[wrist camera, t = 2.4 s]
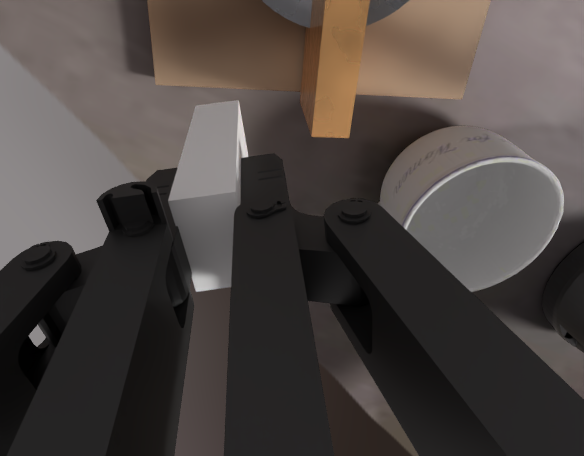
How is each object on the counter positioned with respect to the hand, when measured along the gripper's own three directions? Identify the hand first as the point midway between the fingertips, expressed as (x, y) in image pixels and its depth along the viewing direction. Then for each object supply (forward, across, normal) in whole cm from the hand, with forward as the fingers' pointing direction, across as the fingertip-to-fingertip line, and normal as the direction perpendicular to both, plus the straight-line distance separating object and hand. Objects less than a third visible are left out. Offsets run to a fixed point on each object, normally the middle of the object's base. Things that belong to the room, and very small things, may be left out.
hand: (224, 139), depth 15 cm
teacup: (+14, -12, +11) cm, 22 cm away
